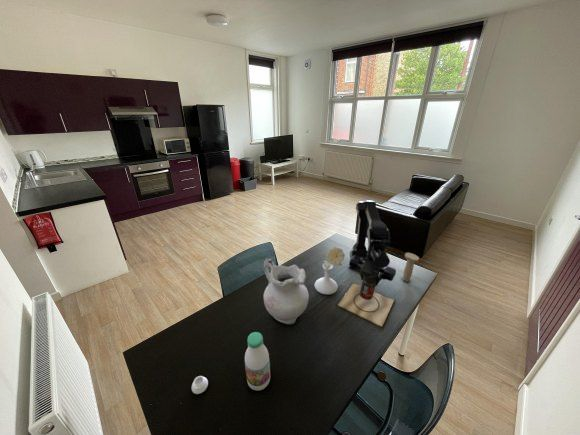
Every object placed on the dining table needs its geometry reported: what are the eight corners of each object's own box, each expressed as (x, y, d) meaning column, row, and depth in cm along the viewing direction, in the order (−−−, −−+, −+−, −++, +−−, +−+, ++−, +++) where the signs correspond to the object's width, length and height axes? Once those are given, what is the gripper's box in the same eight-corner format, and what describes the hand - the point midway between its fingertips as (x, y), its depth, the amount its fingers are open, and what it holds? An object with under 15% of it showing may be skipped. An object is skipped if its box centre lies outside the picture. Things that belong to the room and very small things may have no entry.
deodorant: (372, 292, 112) (379, 267, 105) (372, 301, 107) (379, 276, 100) (359, 288, 114) (365, 264, 107) (358, 297, 109) (365, 272, 102)
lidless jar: (205, 394, 76) (209, 378, 80) (204, 388, 74) (208, 372, 79) (189, 394, 76) (194, 378, 80) (188, 389, 74) (193, 373, 79)
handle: (403, 275, 128) (409, 251, 122) (414, 282, 123) (421, 257, 117) (397, 278, 126) (403, 254, 119) (408, 285, 121) (414, 260, 114)
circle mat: (337, 305, 109) (337, 304, 109) (353, 284, 122) (353, 283, 122) (382, 327, 98) (382, 326, 98) (393, 301, 111) (394, 300, 111)
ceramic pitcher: (252, 319, 103) (245, 276, 91) (273, 288, 119) (270, 248, 106) (297, 338, 95) (296, 293, 83) (314, 302, 110) (315, 260, 98)
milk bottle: (248, 368, 83) (243, 328, 74) (270, 366, 84) (267, 326, 75) (246, 392, 76) (240, 351, 67) (270, 390, 77) (267, 348, 68)
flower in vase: (311, 293, 116) (313, 249, 105) (318, 278, 126) (320, 237, 115) (338, 300, 112) (343, 256, 101) (342, 285, 121) (347, 243, 111)
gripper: (345, 254, 99) (342, 284, 106) (391, 271, 89) (384, 302, 96) (356, 243, 107) (352, 271, 114) (399, 257, 97) (392, 287, 104)
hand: (369, 282), depth 107 cm, fingers closed on deodorant, 6 cm apart
